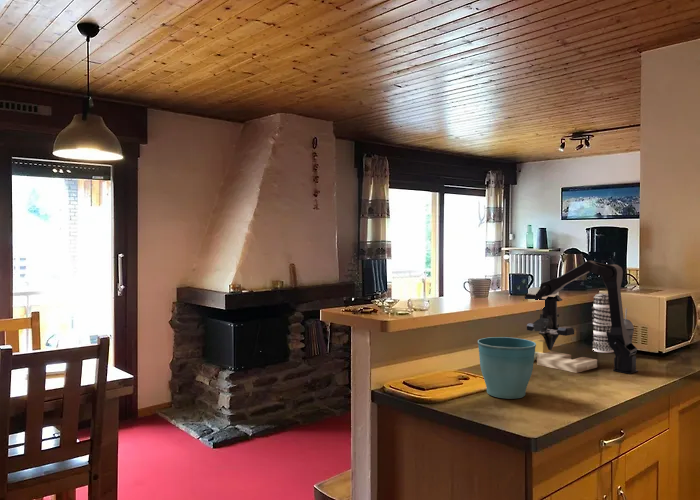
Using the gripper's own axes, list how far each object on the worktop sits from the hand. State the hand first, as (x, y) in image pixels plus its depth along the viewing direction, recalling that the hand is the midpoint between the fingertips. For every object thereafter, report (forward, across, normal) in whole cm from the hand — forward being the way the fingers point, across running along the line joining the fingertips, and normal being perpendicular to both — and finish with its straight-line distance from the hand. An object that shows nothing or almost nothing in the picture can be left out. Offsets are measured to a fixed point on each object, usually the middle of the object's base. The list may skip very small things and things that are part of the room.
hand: (549, 350), depth 228 cm
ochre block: (+1, -4, 0) cm, 5 cm away
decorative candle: (+4, +3, +34) cm, 35 cm away
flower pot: (+5, +20, -54) cm, 57 cm away
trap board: (+4, +5, -3) cm, 7 cm away
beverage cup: (+4, +14, +32) cm, 35 cm away
